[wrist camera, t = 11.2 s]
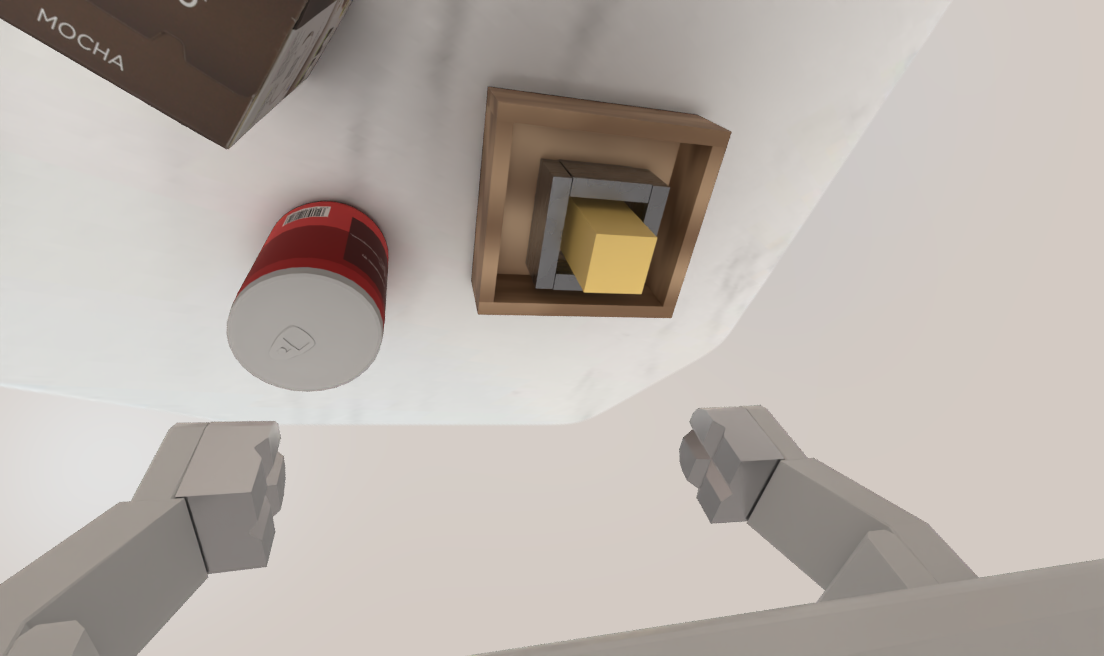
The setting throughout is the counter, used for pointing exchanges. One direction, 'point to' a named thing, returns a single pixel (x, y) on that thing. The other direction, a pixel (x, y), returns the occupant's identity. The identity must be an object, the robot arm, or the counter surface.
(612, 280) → the plug
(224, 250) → the counter surface
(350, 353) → the canned food
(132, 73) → the coffee box
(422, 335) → the counter surface
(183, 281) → the counter surface
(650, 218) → the socket
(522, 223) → the walled box
